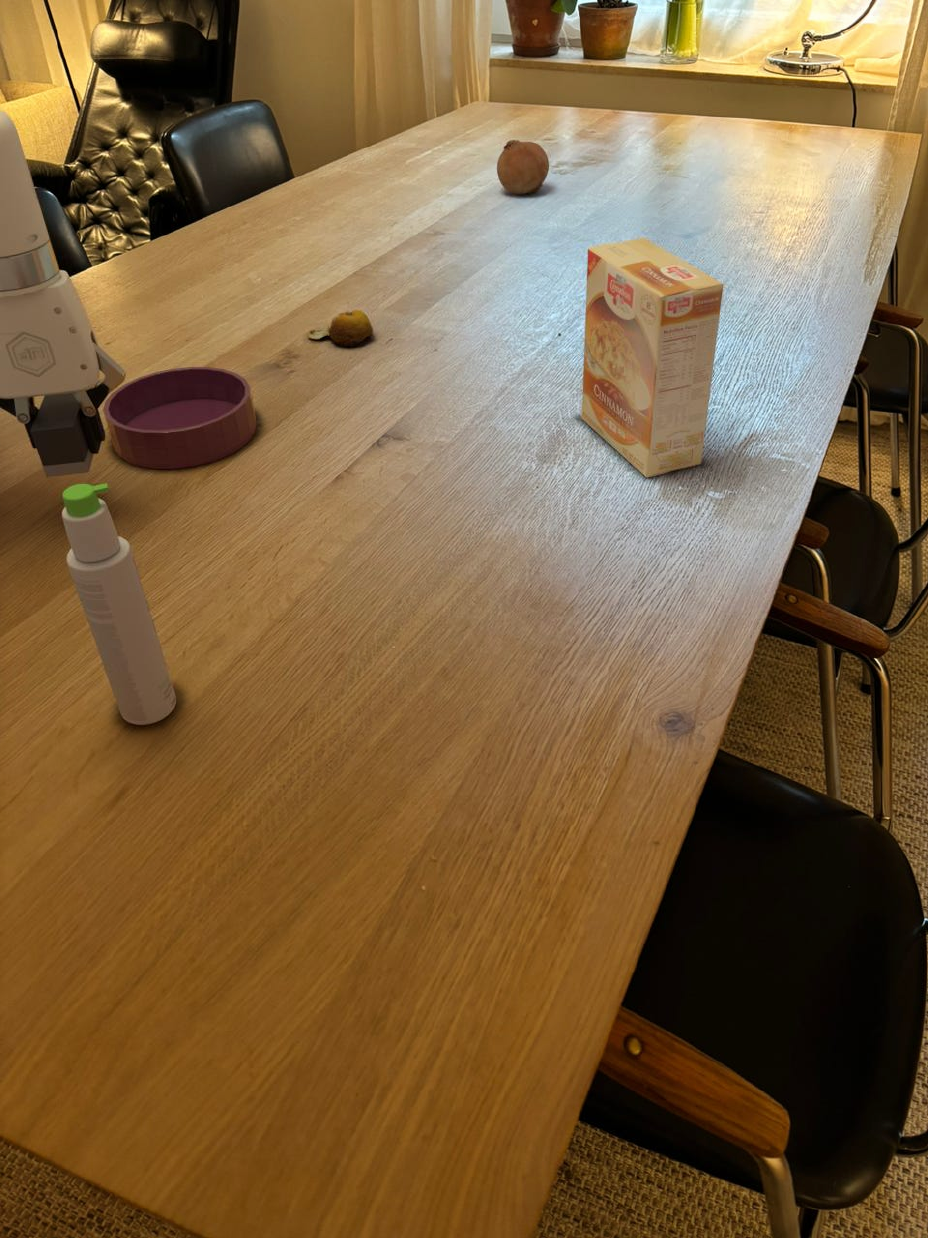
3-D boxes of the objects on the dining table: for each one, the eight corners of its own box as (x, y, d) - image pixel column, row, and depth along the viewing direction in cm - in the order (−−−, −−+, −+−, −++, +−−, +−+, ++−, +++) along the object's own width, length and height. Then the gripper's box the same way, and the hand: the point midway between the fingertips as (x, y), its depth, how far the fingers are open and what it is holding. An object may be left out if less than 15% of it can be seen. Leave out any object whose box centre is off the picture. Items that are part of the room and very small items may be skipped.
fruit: (353, 319, 139) (350, 293, 136) (389, 336, 134) (387, 309, 131) (304, 337, 135) (300, 310, 132) (339, 355, 130) (336, 328, 127)
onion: (502, 210, 184) (477, 158, 180) (536, 184, 187) (512, 133, 183) (533, 201, 177) (507, 147, 172) (568, 175, 180) (544, 120, 175)
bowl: (105, 476, 108) (94, 439, 105) (122, 408, 120) (112, 374, 117) (256, 460, 109) (248, 423, 106) (257, 395, 122) (251, 360, 119)
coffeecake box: (578, 418, 114) (585, 246, 101) (633, 405, 116) (646, 235, 103) (644, 479, 103) (660, 295, 91) (703, 464, 105) (727, 281, 92)
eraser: (46, 477, 96) (29, 430, 93) (60, 438, 102) (45, 393, 99) (88, 472, 96) (73, 426, 93) (99, 433, 102) (86, 388, 99)
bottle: (172, 723, 77) (104, 506, 65) (115, 728, 77) (36, 511, 65) (180, 685, 81) (117, 472, 68) (126, 689, 81) (52, 476, 68)
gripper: (-100, 290, 84) (-23, 479, 95) (103, 271, 85) (154, 459, 96) (-76, 260, 89) (-6, 441, 101) (113, 243, 91) (161, 423, 102)
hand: (72, 448), depth 99 cm, fingers closed on eraser, 4 cm apart
